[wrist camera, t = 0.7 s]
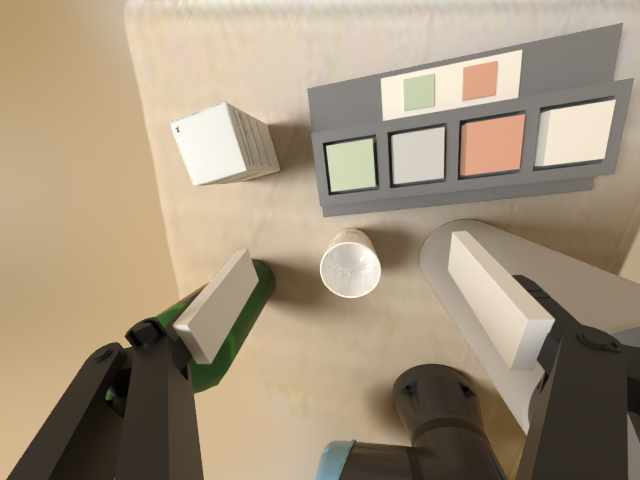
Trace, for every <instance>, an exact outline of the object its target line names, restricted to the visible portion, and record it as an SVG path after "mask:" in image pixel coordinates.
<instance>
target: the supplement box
mask: <svg viewBox="0 0 640 480" xmlns="http://www.w3.org/2000/svg"><path fill="white" fill-rule="evenodd" d="M169 124H170V126H171V129H172V132H173V134H174V137H175V139H176V142H177V144H178V147H179V150H180V152H181V155H182V157H183V160H184V162H185V165H186V168H187V170H188V173H189V175H190V178H191V180H192V183H193V185H194V186H201V185H213V184H225V183H236V182H244V181H247V180H250V179H253V178H256V177H260V176H263V175H267V174H270V173H274V172H278V171H281V170H280V167H279V163H278V160H277V156H276V153H275V149H274V146H273V142H272V139H271V135H270V132H269V128H268V125H266V124H265V123H263V122H261V121H259V120H257V119H255V118H254V117H252V116H250V115H248V114H246V113H245V112H243V111H241V110H239V109H237V108H236V107H234V106H232V105H230V104H228V103H227V102H223V103H220V104H217V105H215V106H212V107H210V108H207V109H204V110H202V111H199V112H196V113H193V114H191V115H189V116H186V117H184V118H181V119H178V120H176V121H173V122H170V123H169Z"/></svg>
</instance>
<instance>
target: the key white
mask: <svg viewBox="0 0 640 480" xmlns="http://www.w3.org/2000/svg"><path fill="white" fill-rule="evenodd" d="M615 102H616V100H611V101H605V102H598V103H592V104H586V105H580V106H573V107H567V108H561V109H554V110H549V111H546V112H543V113H540V115H539V124H538V132H537V141H536V149H535V158H534V166H548V165H556V164H564V163H572V162H580V161H589V160H597V159H604V158H605V153H606V148H607V143H608V137H609V132H610V127H611V122H612V117H613V112H614V107H615Z"/></svg>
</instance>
